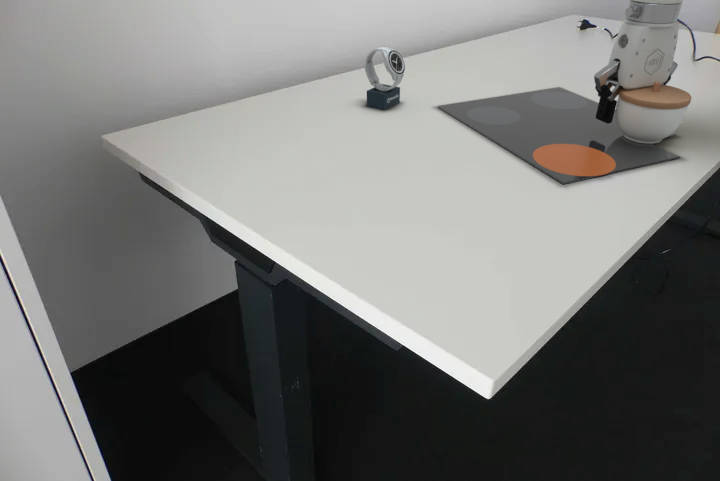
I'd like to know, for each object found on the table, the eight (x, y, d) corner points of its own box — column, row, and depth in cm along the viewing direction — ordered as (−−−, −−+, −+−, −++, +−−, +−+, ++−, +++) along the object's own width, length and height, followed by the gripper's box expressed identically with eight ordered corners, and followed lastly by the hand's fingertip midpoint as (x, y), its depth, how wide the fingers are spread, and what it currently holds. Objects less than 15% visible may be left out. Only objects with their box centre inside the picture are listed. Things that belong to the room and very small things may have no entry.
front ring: (577, 139, 92) (577, 139, 92) (634, 167, 82) (634, 167, 82) (516, 151, 88) (516, 150, 88) (568, 182, 78) (568, 182, 78)
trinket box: (629, 121, 99) (643, 69, 93) (689, 138, 91) (707, 83, 86) (595, 135, 93) (609, 80, 88) (656, 154, 86) (674, 96, 81)
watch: (393, 112, 105) (394, 54, 99) (359, 104, 109) (358, 48, 103) (408, 104, 109) (410, 47, 103) (375, 97, 113) (375, 42, 107)
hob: (559, 88, 117) (559, 87, 116) (711, 151, 88) (711, 149, 88) (437, 107, 107) (437, 105, 107) (563, 184, 78) (563, 182, 78)
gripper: (629, 22, 80) (602, 131, 89) (712, 12, 85) (678, 116, 95) (592, 13, 86) (570, 117, 95) (672, 5, 91) (644, 103, 100)
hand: (624, 116), depth 95 cm, fingers open, 9 cm apart
